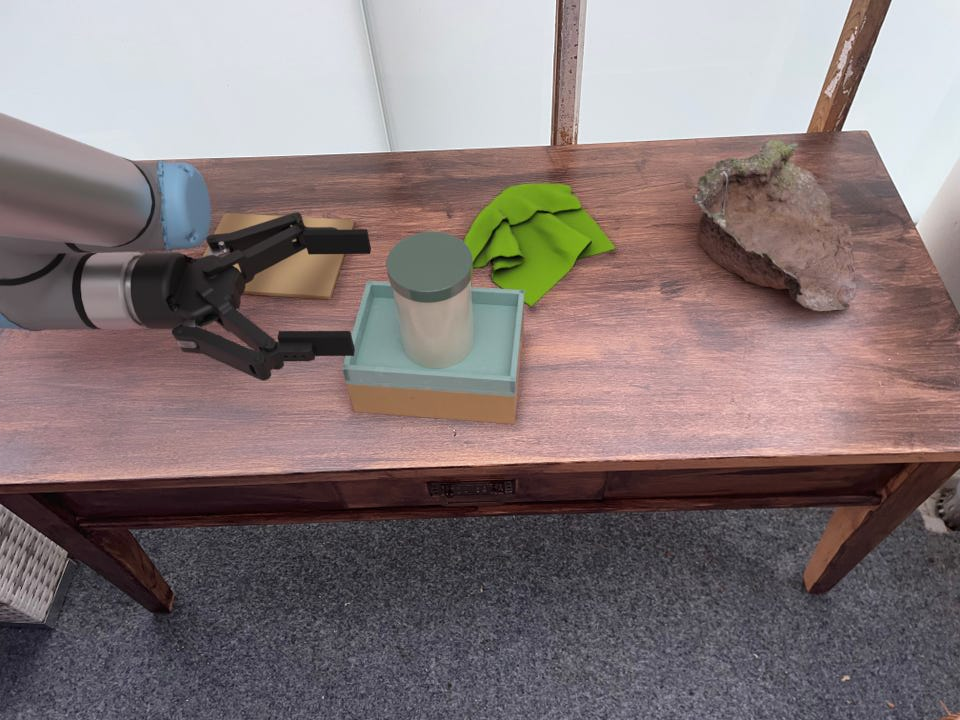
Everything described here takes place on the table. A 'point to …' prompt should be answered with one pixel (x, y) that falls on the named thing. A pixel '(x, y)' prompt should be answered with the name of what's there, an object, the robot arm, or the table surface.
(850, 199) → the table surface
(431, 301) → the jar
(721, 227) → the rock
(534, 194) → the cloth
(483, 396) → the teal and tan box
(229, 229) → the mat
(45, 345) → the table surface
